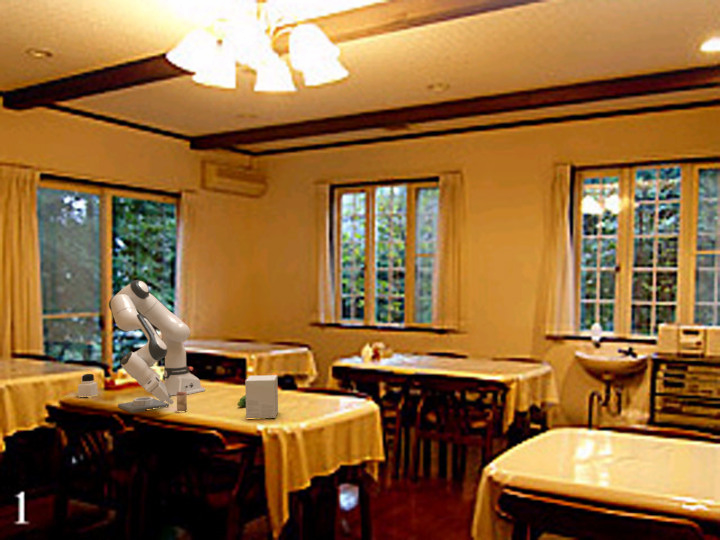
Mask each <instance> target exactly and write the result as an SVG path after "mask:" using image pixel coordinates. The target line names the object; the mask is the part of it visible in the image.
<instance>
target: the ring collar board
mask: <svg viewBox="0 0 720 540" xmlns="http://www.w3.org/2000/svg"><path fill="white" fill-rule="evenodd" d="M166 406H169V407H170V404H169V403H168V402H166V401H164V402H162V401H160V400H159V399H157V398H154V397H153V396H141V397H136V398H135V397H134V398H133V401H128V402H121V403H118V404H117V407H118V408H119V409H122V410H124V411H127V412H129V413H131V414H135V413H141V412H146V411H145V410H147V409H153V408H159V407H166ZM166 408H167V407H166Z"/></svg>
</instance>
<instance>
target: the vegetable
mask: <svg viewBox="0 0 720 540" xmlns="http://www.w3.org/2000/svg"><path fill="white" fill-rule="evenodd" d="M236 406H238V407H241V408H246V394H245V395H242V397H240V399H239V401H238V402H237V403H236Z"/></svg>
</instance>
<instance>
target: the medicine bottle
mask: <svg viewBox="0 0 720 540" xmlns="http://www.w3.org/2000/svg"><path fill="white" fill-rule="evenodd" d="M80 377H81V378H80V379H81V382H80V383H79V384H78V385H77V397H78V396H83V397H84V396H86V397H87V396H93V395H96V394H98V382H97V381H94V380H95V376H94V374H93V373H84V374H82V375H81V376H80Z"/></svg>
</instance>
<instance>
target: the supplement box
mask: <svg viewBox="0 0 720 540" xmlns="http://www.w3.org/2000/svg"><path fill="white" fill-rule="evenodd" d="M278 381H279V380H278V374H273V375H249V376H248V377H247V378H246V379H245V381H244V382H245V383H244V385H245V395H246V407H245V419H246V418H275V417H276V418H277V416H278V414H277V413H279V395H278V393H279V391H278V386H279V385H278ZM276 415H277V416H276ZM276 418H275V419H276Z"/></svg>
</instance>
